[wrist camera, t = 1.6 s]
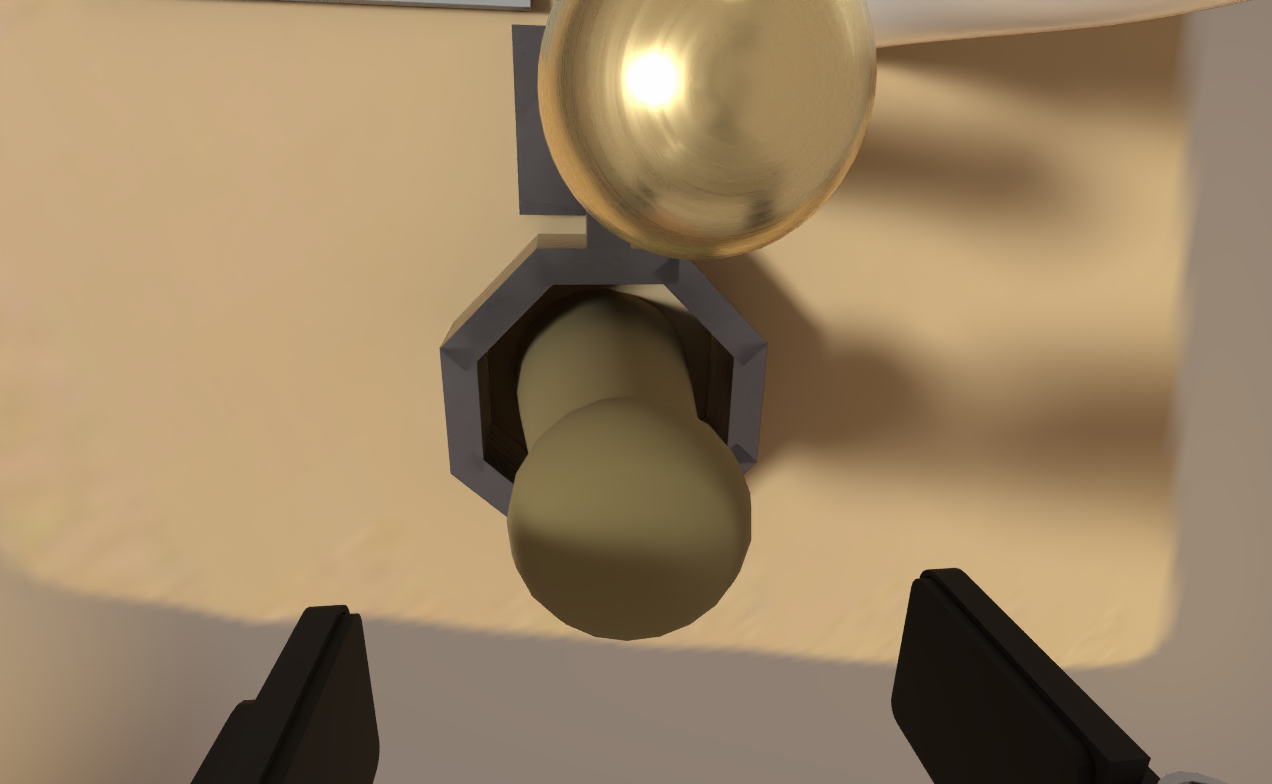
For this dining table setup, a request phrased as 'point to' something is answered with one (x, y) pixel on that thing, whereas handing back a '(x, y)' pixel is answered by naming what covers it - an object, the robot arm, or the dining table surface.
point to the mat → (443, 3)
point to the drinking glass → (1011, 16)
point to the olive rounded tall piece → (620, 474)
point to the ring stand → (664, 178)
